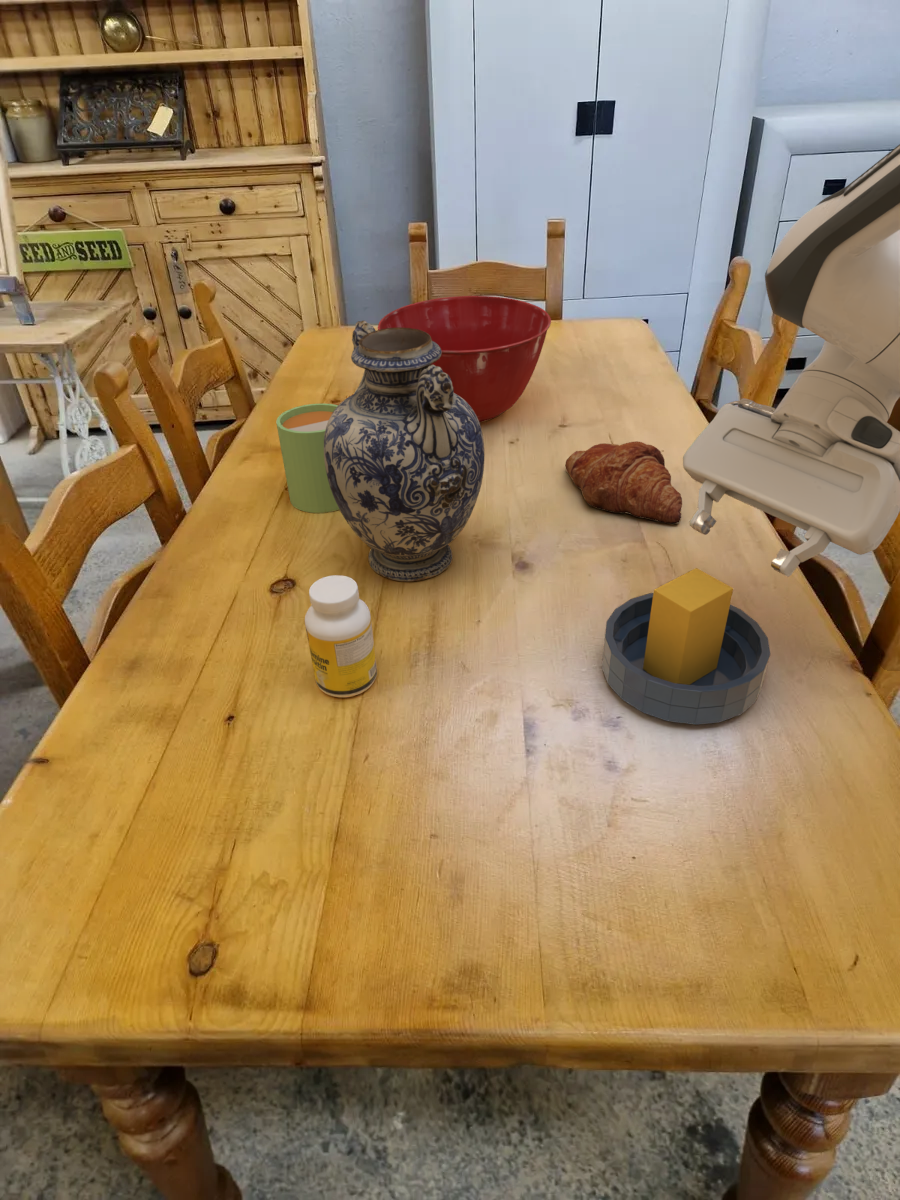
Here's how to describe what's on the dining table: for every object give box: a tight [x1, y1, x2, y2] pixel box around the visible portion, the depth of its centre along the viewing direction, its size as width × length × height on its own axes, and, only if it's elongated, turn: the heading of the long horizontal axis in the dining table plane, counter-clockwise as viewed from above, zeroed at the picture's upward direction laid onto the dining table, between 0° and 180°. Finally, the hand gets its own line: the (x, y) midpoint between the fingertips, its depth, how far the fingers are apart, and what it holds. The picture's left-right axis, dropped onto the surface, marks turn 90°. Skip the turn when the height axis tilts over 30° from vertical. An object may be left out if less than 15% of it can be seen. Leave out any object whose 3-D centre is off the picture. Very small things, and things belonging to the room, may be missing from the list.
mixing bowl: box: [377, 295, 552, 423], centre depth 135 cm, size 28×28×16 cm
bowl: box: [601, 592, 771, 726], centre depth 79 cm, size 16×16×5 cm
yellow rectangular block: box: [643, 567, 734, 685], centre depth 78 cm, size 4×6×10 cm
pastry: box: [564, 440, 683, 525], centre depth 109 cm, size 17×15×8 cm
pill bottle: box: [304, 574, 378, 698], centre depth 79 cm, size 6×6×12 cm
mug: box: [275, 403, 340, 514], centre depth 112 cm, size 13×10×12 cm
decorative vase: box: [324, 320, 486, 582], centre depth 92 cm, size 21×19×28 cm
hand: (736, 549), depth 75 cm, fingers open, 8 cm apart
